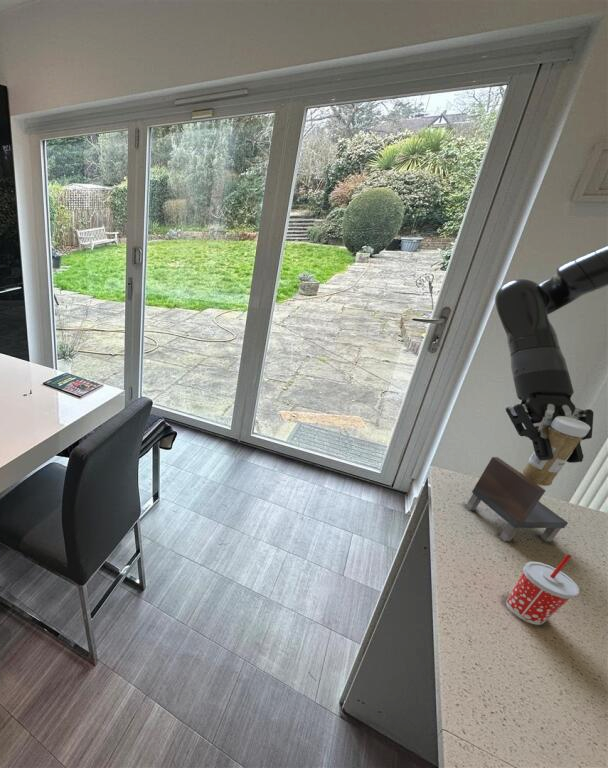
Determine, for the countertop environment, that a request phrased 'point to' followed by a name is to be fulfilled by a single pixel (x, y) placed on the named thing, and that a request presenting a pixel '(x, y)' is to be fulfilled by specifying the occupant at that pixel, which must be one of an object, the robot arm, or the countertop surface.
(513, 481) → the chair
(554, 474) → the sprinkles bottle
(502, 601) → the countertop surface
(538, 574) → the beverage cup
